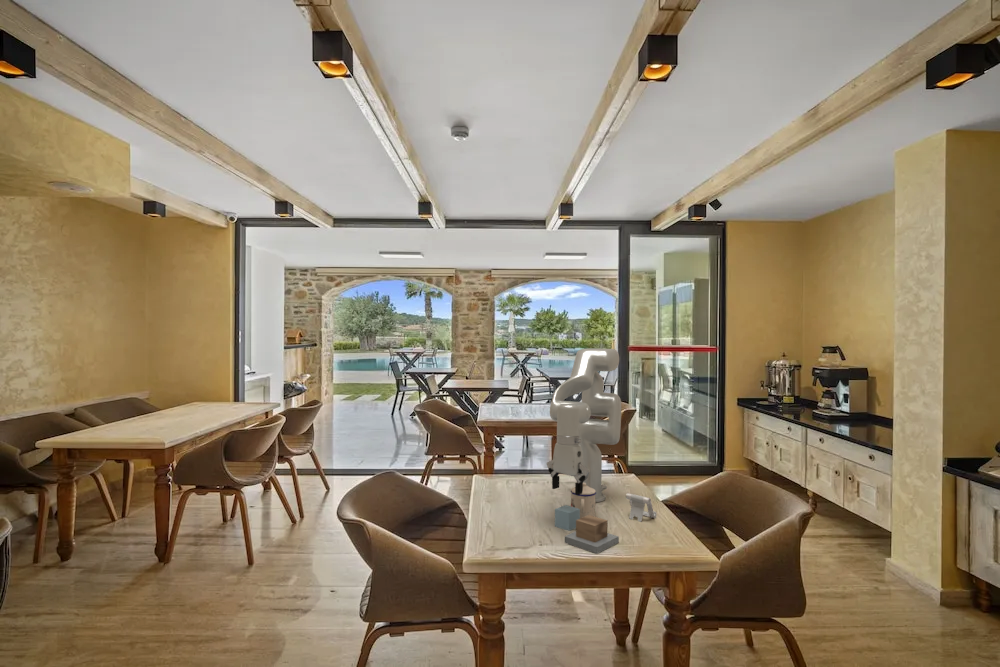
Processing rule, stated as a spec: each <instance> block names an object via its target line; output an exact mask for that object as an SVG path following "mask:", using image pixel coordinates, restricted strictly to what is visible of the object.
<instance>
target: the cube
mask: <svg viewBox="0 0 1000 667" xmlns="http://www.w3.org/2000/svg"><path fill="white" fill-rule="evenodd" d="M578 519H580V509H578V508H574V507H571V505H566V504H565V505H562V506H559V507H555V509H554V527H555V528H558V529H562V530H565V531H568V532H570V531H572V530H576V520H578Z"/></svg>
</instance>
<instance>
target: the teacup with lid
mask: <svg viewBox="0 0 1000 667" xmlns="http://www.w3.org/2000/svg"><path fill="white" fill-rule="evenodd" d="M570 493H571V494H570V498H571V500H570V506H571V507H574V508H578V509H580V518H583V517H585V516H588V515H591V516H594V517H596V502H595V494H596V491H595V489H593V488H590V487H589V486H587V485H586V483H584V482H583V491H582V494H579V495H576V494H575V486H574V487H572V488H571V489H570Z"/></svg>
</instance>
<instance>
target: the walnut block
mask: <svg viewBox="0 0 1000 667" xmlns="http://www.w3.org/2000/svg"><path fill="white" fill-rule="evenodd" d="M575 531H576V536H577V537H580V538H583V539H586V540H589V541H592V542H597V541H599V540H601V539H603V538H605V537H607V533H608V519H605V518H601V517H597V516H591V515H588V516H585V517H583V518H580V519H578V520H576V528H575Z"/></svg>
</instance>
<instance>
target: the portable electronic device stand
mask: <svg viewBox="0 0 1000 667" xmlns="http://www.w3.org/2000/svg"><path fill="white" fill-rule="evenodd" d="M625 499H626V500H629V503H630V511H629V518H628V519H629V520H633V519H634V517H636V518H637V522H640V523H642V521H643V517H648V518H651V519H656V518H657V516H658V514H657V511H654V508H653V504H652V500H651V497H648V496H647V497H646V496H642V495H639V494H635V493H629V492H627V493H626V494H625ZM645 506H646V507H647V511H645ZM633 521H634V520H633Z"/></svg>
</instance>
